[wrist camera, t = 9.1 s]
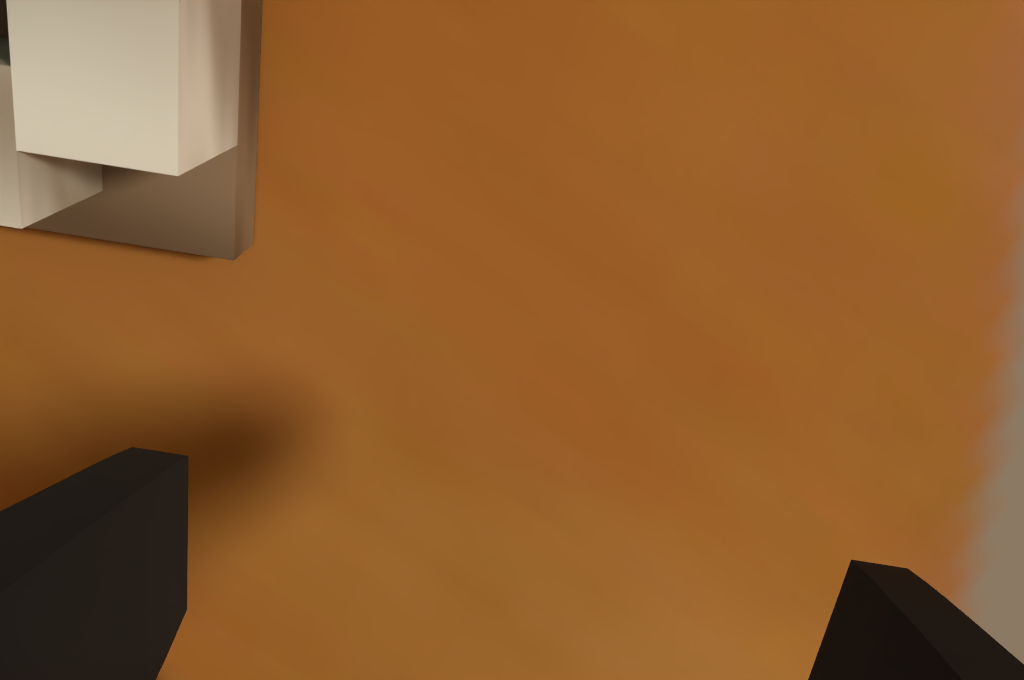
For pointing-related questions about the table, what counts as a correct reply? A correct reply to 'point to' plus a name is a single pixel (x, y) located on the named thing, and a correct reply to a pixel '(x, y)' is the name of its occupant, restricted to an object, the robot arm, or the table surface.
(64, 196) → the socket board
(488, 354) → the table surface
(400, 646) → the table surface
